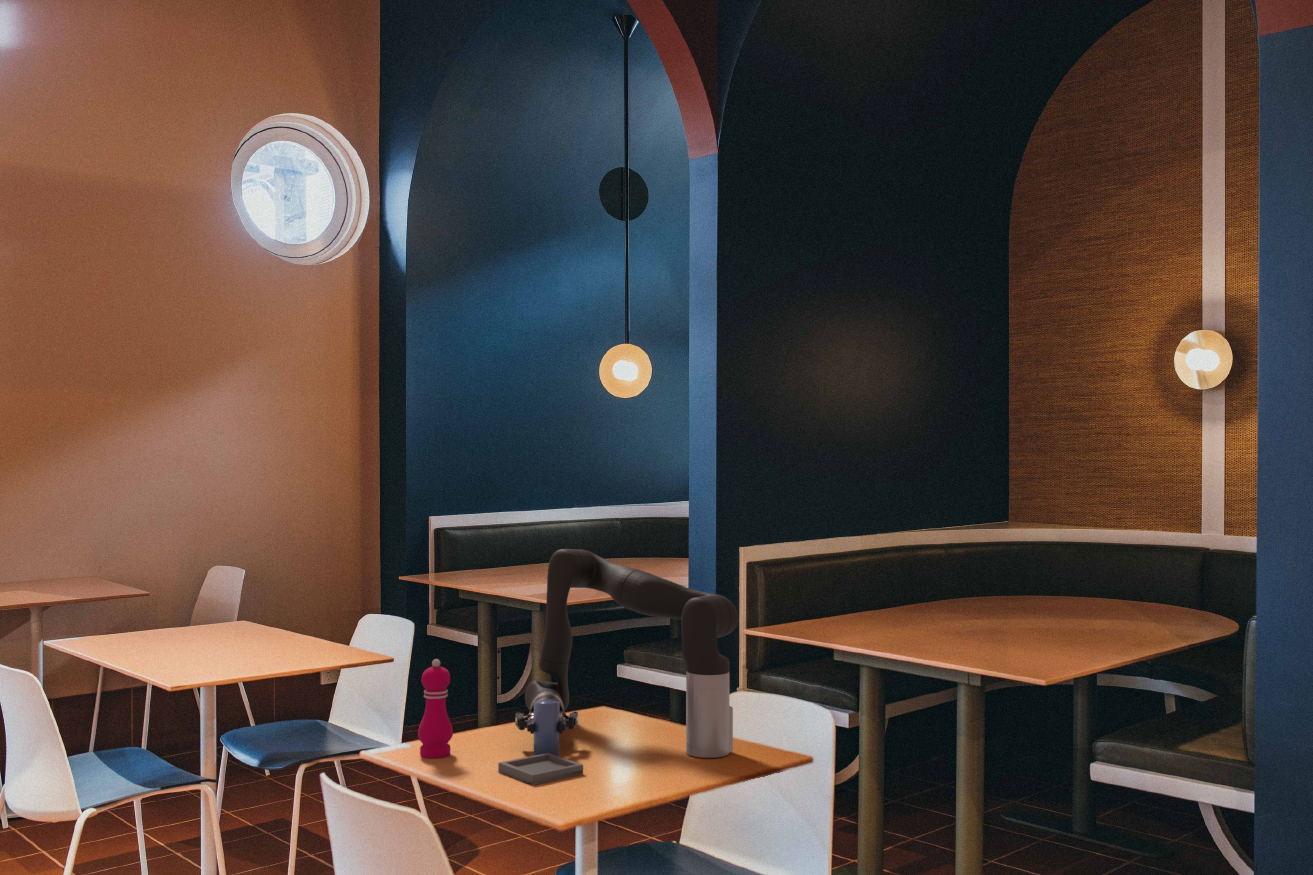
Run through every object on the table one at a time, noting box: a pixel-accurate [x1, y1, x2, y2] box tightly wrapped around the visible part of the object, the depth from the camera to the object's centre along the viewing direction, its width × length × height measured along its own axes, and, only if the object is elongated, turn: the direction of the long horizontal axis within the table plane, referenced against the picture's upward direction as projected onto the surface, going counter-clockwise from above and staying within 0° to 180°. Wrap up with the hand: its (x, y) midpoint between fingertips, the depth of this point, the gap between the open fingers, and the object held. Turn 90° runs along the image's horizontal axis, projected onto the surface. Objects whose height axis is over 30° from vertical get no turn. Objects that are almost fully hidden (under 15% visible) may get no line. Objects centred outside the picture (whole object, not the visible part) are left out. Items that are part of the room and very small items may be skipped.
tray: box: [497, 753, 584, 786], centre depth 214 cm, size 12×12×2 cm
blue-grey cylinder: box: [533, 700, 560, 756], centre depth 228 cm, size 5×5×11 cm
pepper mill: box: [417, 658, 454, 759], centre depth 228 cm, size 7×7×20 cm
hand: (546, 728), depth 226 cm, fingers closed on blue-grey cylinder, 5 cm apart
